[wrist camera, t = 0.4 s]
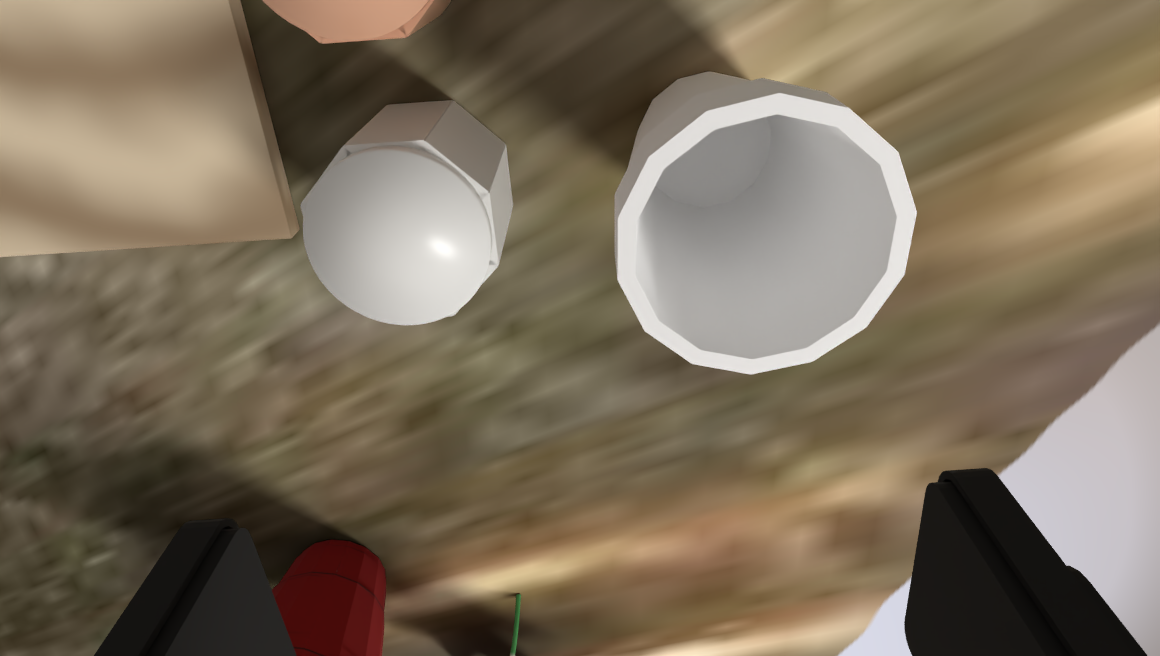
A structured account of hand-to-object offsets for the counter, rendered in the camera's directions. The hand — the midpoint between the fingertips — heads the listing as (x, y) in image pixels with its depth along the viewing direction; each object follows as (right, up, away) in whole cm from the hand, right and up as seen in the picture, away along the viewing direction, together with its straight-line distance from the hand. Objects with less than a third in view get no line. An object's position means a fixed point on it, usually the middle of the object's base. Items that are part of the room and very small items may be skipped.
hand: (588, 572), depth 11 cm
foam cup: (+6, +12, +25) cm, 28 cm away
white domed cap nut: (-7, +11, +26) cm, 29 cm away
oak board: (-23, +16, +23) cm, 36 cm away
